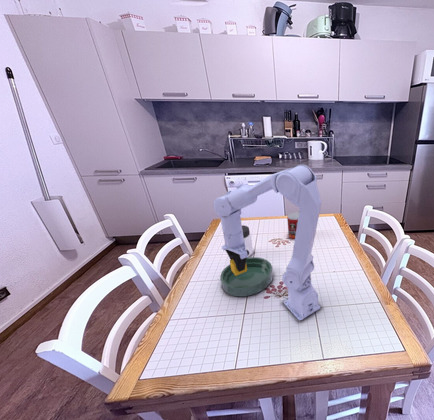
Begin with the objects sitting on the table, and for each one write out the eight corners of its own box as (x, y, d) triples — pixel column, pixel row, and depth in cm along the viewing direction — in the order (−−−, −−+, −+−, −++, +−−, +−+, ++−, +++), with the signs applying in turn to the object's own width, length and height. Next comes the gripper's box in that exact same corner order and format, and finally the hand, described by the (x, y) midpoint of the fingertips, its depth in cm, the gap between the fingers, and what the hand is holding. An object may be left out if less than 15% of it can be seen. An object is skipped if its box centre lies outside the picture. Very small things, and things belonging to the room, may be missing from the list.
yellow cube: (247, 271, 80) (245, 261, 78) (235, 275, 77) (233, 265, 76) (242, 265, 82) (241, 255, 81) (231, 270, 80) (229, 260, 79)
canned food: (285, 238, 115) (284, 217, 110) (292, 230, 122) (291, 211, 117) (300, 240, 112) (299, 219, 108) (306, 232, 120) (306, 213, 115)
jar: (255, 255, 101) (252, 230, 96) (236, 262, 96) (232, 236, 92) (247, 246, 107) (244, 223, 103) (229, 252, 102) (225, 228, 98)
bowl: (281, 282, 85) (280, 273, 84) (232, 305, 75) (231, 296, 73) (260, 260, 97) (259, 252, 96) (215, 278, 87) (213, 269, 85)
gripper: (212, 226, 77) (219, 261, 82) (228, 244, 67) (235, 283, 72) (234, 221, 81) (239, 254, 86) (251, 236, 71) (256, 273, 76)
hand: (238, 267), depth 79 cm, fingers closed on yellow cube, 4 cm apart
